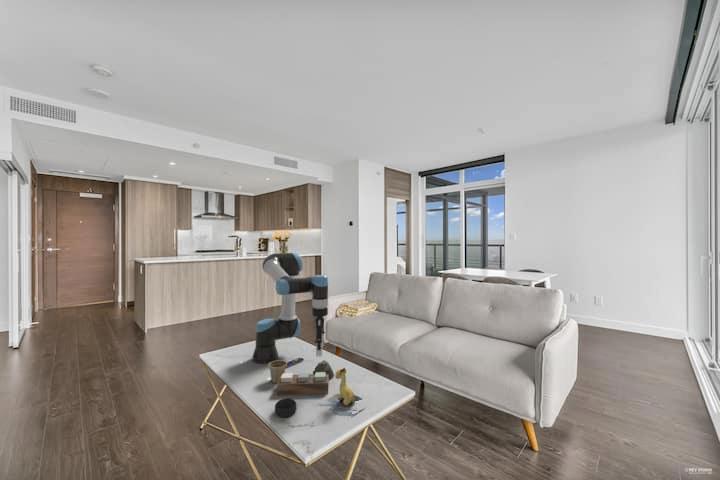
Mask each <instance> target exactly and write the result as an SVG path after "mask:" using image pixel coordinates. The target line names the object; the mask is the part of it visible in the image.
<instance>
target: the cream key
mask: <svg viewBox="0 0 720 480" xmlns="http://www.w3.org/2000/svg"><path fill="white" fill-rule="evenodd" d="M293 375H294V373H293V372H285V373H283V374H282V377H281V382H292V380H293Z"/></svg>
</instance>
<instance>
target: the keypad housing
mask: <svg viewBox="0 0 720 480" xmlns="http://www.w3.org/2000/svg"><path fill="white" fill-rule="evenodd" d="M298 376H299V374H293V380H292V382H281V377H282V375H281V376H280V378H279V381H278V382H276V396H285V395H286V396H288V395H290V396H291V395H292V396H293V395H294V396H295V395H322V394H323V395H325V394H329V388H330V387H329V385H330V383H329V381H330V379H329V374H326V378H325V381H315V374H313V373H311V374H310V373H309V381H308V382H298Z"/></svg>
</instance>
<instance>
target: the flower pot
mask: <svg viewBox="0 0 720 480" xmlns="http://www.w3.org/2000/svg"><path fill="white" fill-rule="evenodd" d="M267 364H268V368H269V372H270V378H271V379H270V380H271V382H272V383H274V384H277V383H278V381H279V378H280V376H281V375H282V374H283V373H286V368H287V365H288V362H287V361H286V360H283V359H282V360H281V359H277V360H275V361H272V362H269V363H267Z"/></svg>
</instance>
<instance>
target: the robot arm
mask: <svg viewBox="0 0 720 480" xmlns="http://www.w3.org/2000/svg"><path fill="white" fill-rule="evenodd" d="M262 270H263V271H264V273H265V274H267V275H269V276H270V277H271V278H272V280H273V281H274V283H275V291H276V292H275V293H276V294H277V295H278V296H279V295H280V296H281V307H280V308H281V309H280V311H281V312H280V314H279V316H278V320H276V319H275V318H271V317H270V318H264V319H262V320H261V319H260V320H259V321H257V322H256V324H255V331H254V332H255V346H254V347H255V348H254V351H253V354H252V357H251V358H252V359H251V360H252V362H254V363H256V364H269V363H270V362H272V361H276V360H279V352H278V349H277V344H276V341H278V340H285V339H286V340H287V339H292V338H296V337H297V336H298V335H299V334H300V330H301V320H300V319H299V317H298V316H297V314H296V299H297V297H296V294H307V293H308V294H309V293H311V294H312V300H310V302H311V303H312V309H311V311H312V316H313V317H317V318H316V319H315V329H316V332H315V333H316V334H315V335H316V337H315V339H316V340H315V341H314V344H315V345H316V346H315V356H316V357H323V348H324V334H325V333H326V332H325V330H324V325H325V324H324V323H325V318H324V317H326V316H328V315H329V308H328V307H329V293H328V292H329V280H328V278H329V277H328V275H324V274H318V275H313V276H307V277H301V278H299V277H298V276H299V275H300V272H302V271H303V259H302V257H301V255H300V254H299V253H296V252H285V253H284V252H281V253H272V254H269V255H267V256H266V257H265V258H264V259H263V261H262Z"/></svg>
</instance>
